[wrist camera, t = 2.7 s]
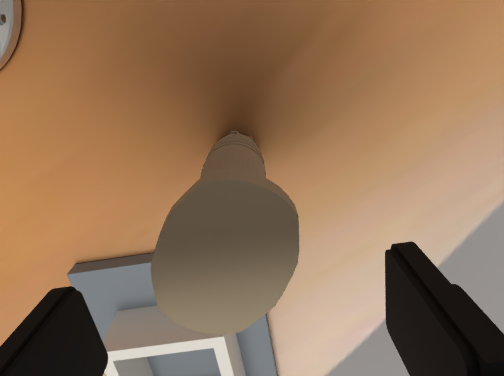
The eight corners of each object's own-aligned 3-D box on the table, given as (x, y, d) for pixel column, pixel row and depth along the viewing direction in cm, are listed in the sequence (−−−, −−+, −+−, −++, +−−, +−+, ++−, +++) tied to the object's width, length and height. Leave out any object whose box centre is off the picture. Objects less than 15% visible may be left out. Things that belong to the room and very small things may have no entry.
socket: (75, 264, 29) (34, 313, 23) (252, 238, 28) (254, 282, 23) (139, 411, 36) (120, 475, 31) (281, 394, 36) (287, 456, 30)
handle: (194, 175, 26) (134, 313, 12) (221, 99, 24) (184, 158, 10) (250, 195, 27) (254, 347, 13) (281, 123, 24) (327, 210, 11)
